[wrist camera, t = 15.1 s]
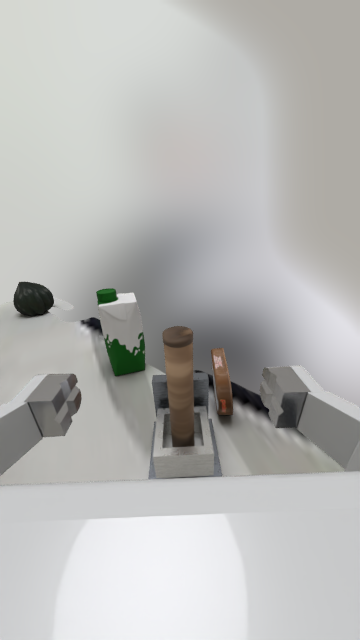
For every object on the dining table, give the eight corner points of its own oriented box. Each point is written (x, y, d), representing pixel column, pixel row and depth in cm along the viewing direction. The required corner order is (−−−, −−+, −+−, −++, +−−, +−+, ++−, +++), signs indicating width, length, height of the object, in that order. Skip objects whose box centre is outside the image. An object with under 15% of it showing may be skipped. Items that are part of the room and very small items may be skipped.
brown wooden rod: (187, 465, 27) (181, 343, 20) (167, 452, 29) (156, 335, 21) (199, 446, 29) (198, 330, 22) (180, 435, 31) (174, 324, 24)
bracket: (226, 502, 26) (230, 436, 22) (146, 506, 26) (133, 441, 22) (211, 421, 37) (212, 366, 33) (154, 424, 37) (147, 369, 33)
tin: (233, 426, 37) (236, 388, 33) (215, 425, 37) (216, 387, 33) (223, 371, 50) (224, 340, 47) (209, 371, 51) (210, 340, 47)
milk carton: (111, 359, 57) (95, 287, 49) (144, 353, 59) (135, 282, 51) (111, 379, 49) (92, 298, 41) (149, 371, 52) (139, 292, 44)
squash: (66, 295, 97) (38, 271, 94) (41, 308, 84) (9, 281, 81) (52, 313, 103) (26, 291, 100) (27, 328, 90) (-3, 303, 87)
